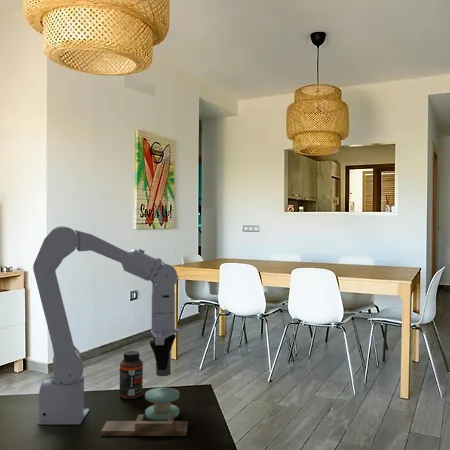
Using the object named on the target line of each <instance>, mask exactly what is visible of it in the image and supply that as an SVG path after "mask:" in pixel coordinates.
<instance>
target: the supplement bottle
mask: <svg viewBox="0 0 450 450" xmlns="http://www.w3.org/2000/svg"><path fill="white" fill-rule="evenodd" d="M143 373H144V363H143V361H142V359H141V358H140V352H139V351H138V350H127V351H124V352H123V360H121V361H120V363H119V397H120V398H122V399H124V400H125V399H126V400H135V399H138V398H140V397H142V395H143V390H144V389H143V387H144V386H143V383H144V382H143V381H144V379H143V377H144V375H143Z"/></svg>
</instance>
